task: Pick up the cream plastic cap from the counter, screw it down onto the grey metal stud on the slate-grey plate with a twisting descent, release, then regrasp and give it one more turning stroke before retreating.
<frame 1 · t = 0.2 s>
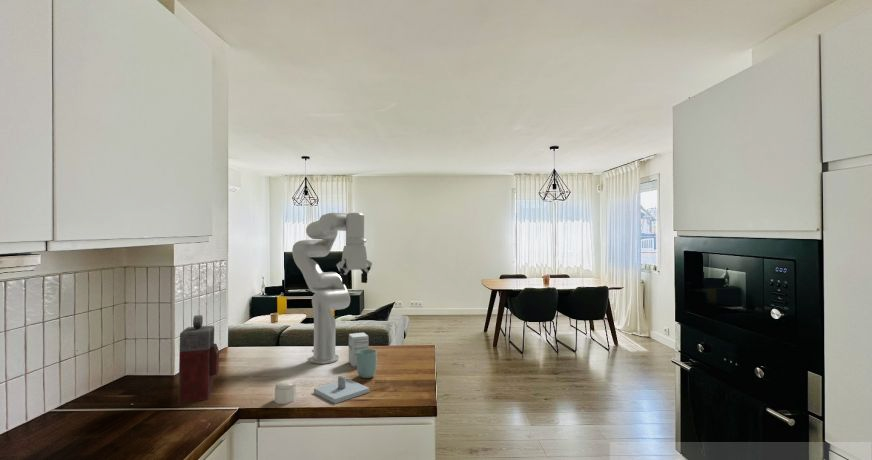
hand: (354, 283, 163), 37 cm above the worktop, tool pointing down, fingers open, 9 cm apart
cup: (366, 377, 157), on the worktop
red grey canister: (200, 396, 137), on the worktop
cap: (285, 399, 134), on the worktop
stud plate: (341, 392, 141), on the worktop
supplement box: (358, 363, 174), on the worktop
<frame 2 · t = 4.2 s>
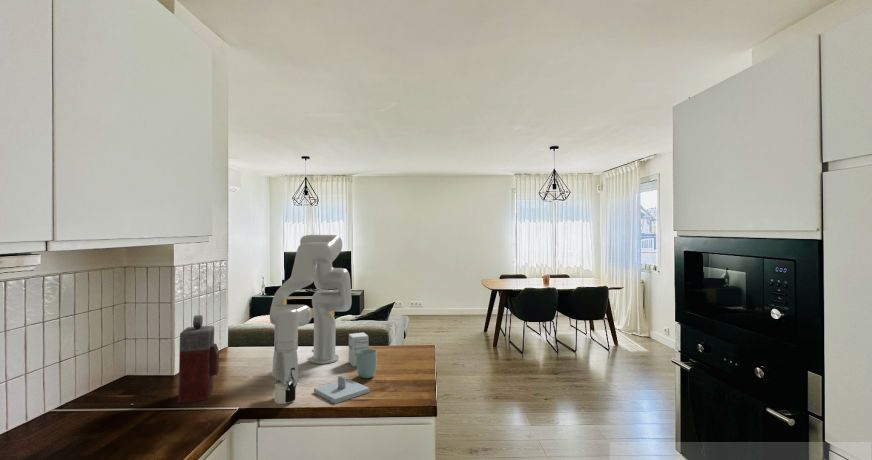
hand: (285, 397, 134), 1 cm above the worktop, tool pointing down, fingers closed on cap, 6 cm apart
cap: (285, 399, 134), on the worktop, touching gripper
everything else where it was.
when the fingers open (3 cm above the worktop, at t = 9.7 s): cap stays where it is, resting on stud plate.
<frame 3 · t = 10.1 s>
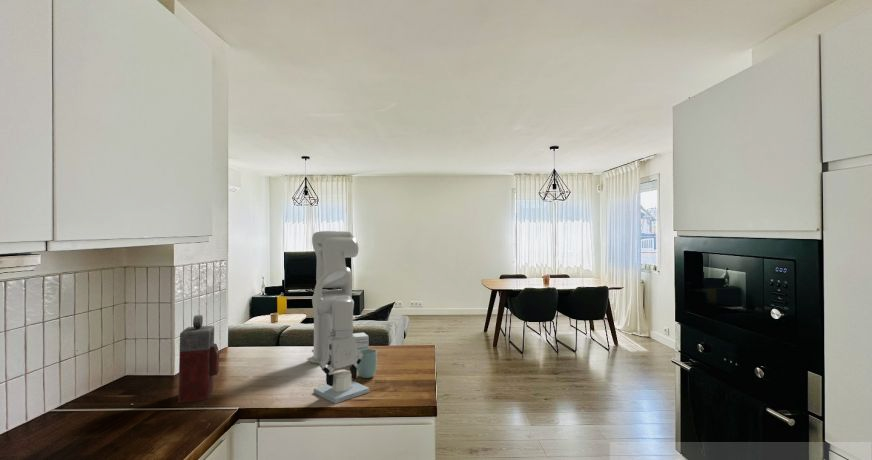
hand: (341, 381, 141), 4 cm above the worktop, tool pointing down, fingers open, 9 cm apart
cap: (341, 388, 141), point 1 cm above the worktop, touching stud plate
everything else where it was.
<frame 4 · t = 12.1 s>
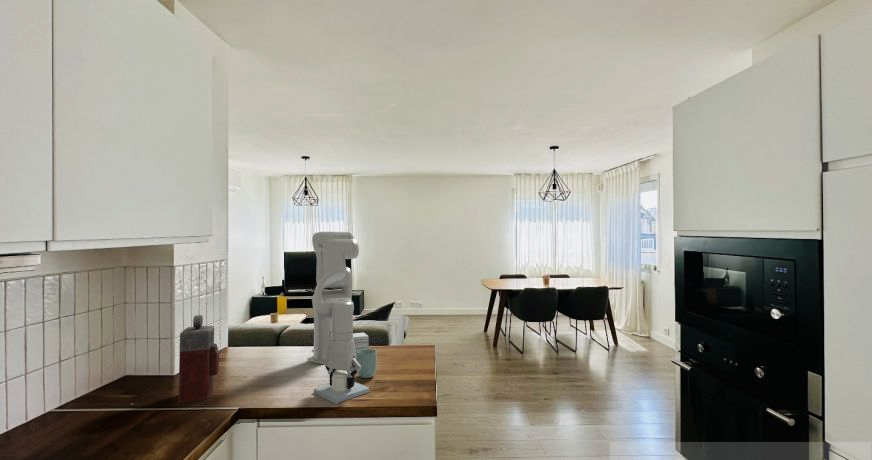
hand: (341, 385, 141), 2 cm above the worktop, tool pointing down, fingers closed on cap, 6 cm apart
cap: (341, 388, 141), point 1 cm above the worktop, touching gripper, stud plate
everything else where it was.
when the fingers open (4 cm above the worktop, at t = 13.5 s): cap drops 1 cm, resting on stud plate.
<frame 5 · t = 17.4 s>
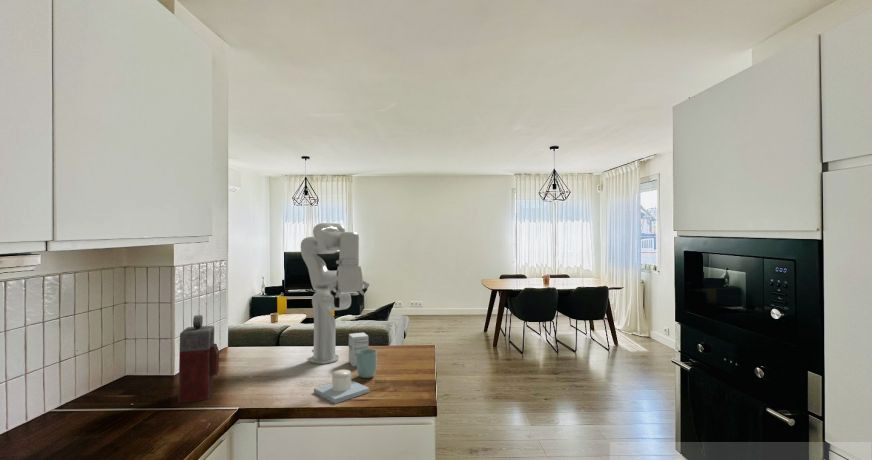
hand: (348, 306, 156), 28 cm above the worktop, tool pointing down, fingers open, 9 cm apart
cap: (341, 388, 141), point 1 cm above the worktop, touching stud plate
everything else where it was.
at the end: cap 0.1 cm off-centre on the stud plate, point 1.5 cm above the stud plate's base; cap tilted 0°; the gripper is holding nothing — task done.
